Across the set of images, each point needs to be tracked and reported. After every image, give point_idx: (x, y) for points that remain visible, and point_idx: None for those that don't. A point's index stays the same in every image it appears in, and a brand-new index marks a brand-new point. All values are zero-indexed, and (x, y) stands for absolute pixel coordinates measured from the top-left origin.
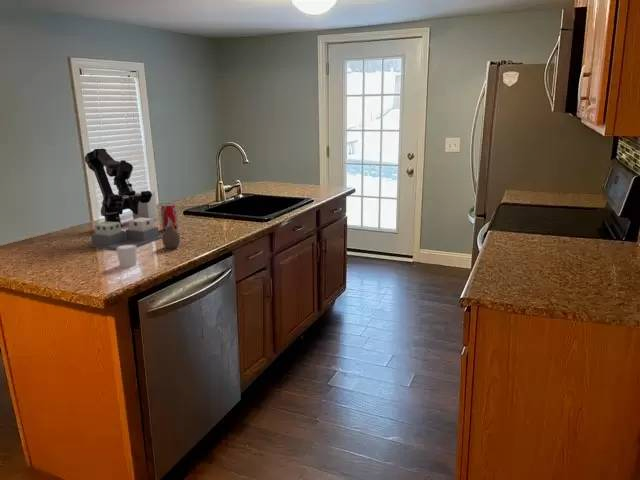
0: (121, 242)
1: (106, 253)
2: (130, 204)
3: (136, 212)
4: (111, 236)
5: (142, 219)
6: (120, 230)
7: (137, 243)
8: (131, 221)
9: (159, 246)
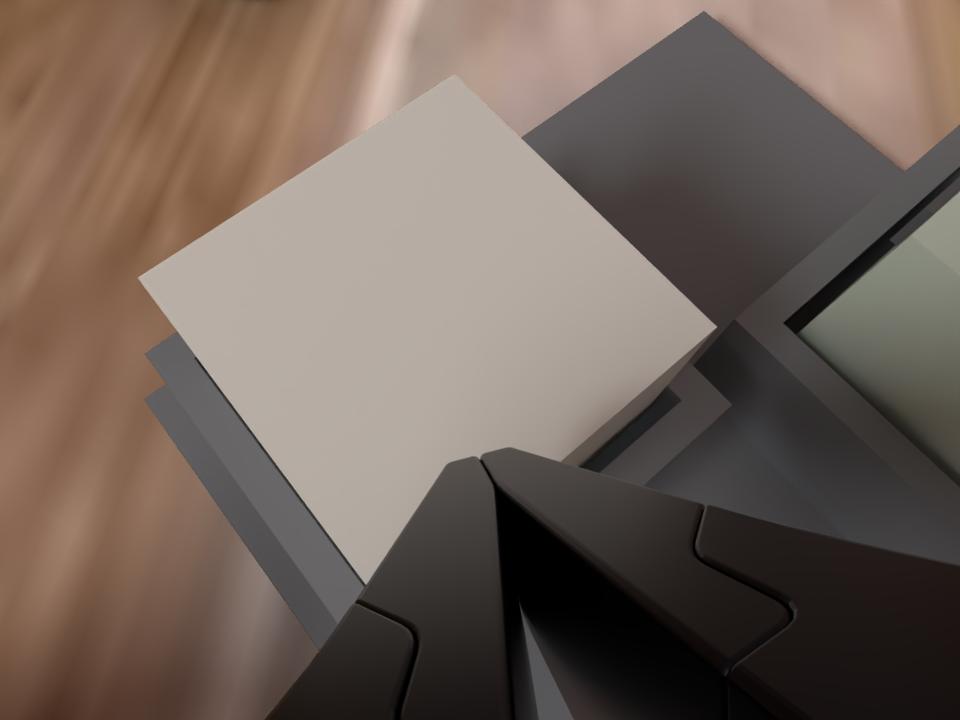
0: (752, 293)
1: (887, 50)
2: (836, 569)
3: (499, 454)
4: (933, 148)
5: (391, 294)
6: (829, 305)
7: (560, 151)
8: (654, 275)
9: (341, 44)
